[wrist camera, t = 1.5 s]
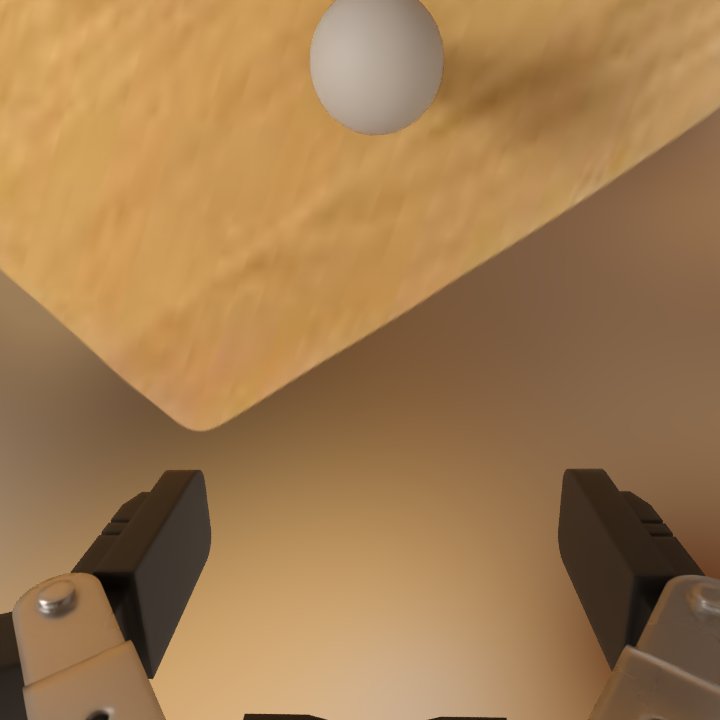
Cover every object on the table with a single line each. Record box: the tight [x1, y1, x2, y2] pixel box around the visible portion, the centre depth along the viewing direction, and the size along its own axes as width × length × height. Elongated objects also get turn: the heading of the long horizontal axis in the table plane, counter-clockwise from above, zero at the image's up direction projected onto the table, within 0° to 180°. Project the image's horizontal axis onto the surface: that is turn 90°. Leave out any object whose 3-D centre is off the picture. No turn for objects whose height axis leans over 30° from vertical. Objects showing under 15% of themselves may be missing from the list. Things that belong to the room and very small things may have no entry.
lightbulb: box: [310, 0, 444, 135], centre depth 29 cm, size 6×6×11 cm
